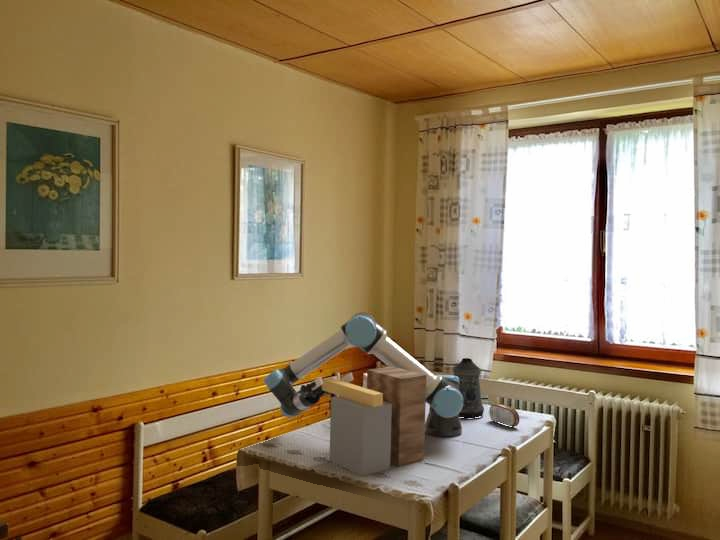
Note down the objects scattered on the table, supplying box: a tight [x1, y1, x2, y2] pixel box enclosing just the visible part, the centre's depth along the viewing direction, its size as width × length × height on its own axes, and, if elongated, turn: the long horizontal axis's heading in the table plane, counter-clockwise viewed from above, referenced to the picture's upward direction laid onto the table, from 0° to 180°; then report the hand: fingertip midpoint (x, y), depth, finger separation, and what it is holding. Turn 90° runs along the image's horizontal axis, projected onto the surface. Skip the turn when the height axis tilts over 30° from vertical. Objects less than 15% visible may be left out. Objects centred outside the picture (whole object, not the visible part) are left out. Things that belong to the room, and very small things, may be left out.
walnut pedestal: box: [366, 366, 427, 467], centre depth 221 cm, size 18×12×30 cm, turn 39°
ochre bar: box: [322, 377, 383, 407], centre depth 215 cm, size 29×4×4 cm, turn 39°
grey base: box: [329, 395, 392, 477], centre depth 211 cm, size 18×12×22 cm, turn 39°
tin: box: [488, 402, 520, 428], centre depth 265 cm, size 15×3×8 cm, turn 35°
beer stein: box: [452, 357, 485, 418], centre depth 281 cm, size 16×19×25 cm
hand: (336, 378), depth 221 cm, fingers open, 13 cm apart
